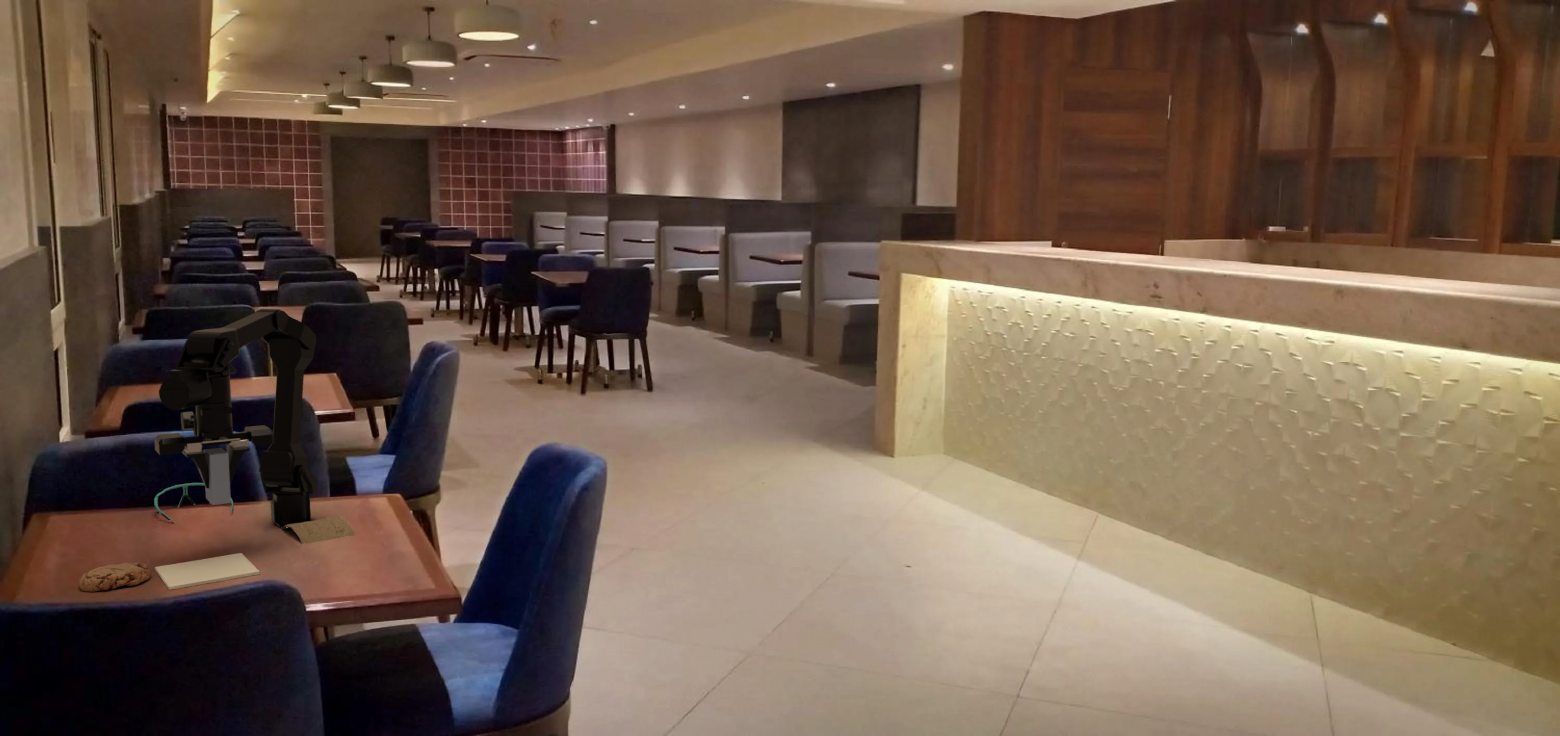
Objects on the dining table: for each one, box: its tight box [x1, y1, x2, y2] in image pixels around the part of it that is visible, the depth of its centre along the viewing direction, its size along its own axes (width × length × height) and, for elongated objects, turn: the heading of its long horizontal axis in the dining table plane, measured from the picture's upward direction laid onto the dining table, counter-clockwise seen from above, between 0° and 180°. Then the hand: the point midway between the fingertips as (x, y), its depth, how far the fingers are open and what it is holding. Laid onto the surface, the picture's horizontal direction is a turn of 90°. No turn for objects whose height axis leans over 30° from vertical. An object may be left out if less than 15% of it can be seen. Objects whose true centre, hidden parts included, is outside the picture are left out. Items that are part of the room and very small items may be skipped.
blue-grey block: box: [202, 447, 232, 506], centre depth 206 cm, size 3×6×9 cm, turn 36°
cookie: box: [78, 562, 152, 593], centre depth 193 cm, size 10×11×3 cm
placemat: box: [154, 552, 261, 591], centre depth 199 cm, size 14×13×1 cm
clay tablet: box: [281, 516, 356, 544], centre depth 224 cm, size 14×10×3 cm
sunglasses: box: [153, 482, 234, 521], centre depth 237 cm, size 14×15×5 cm
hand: (217, 486), depth 207 cm, fingers closed on blue-grey block, 3 cm apart
